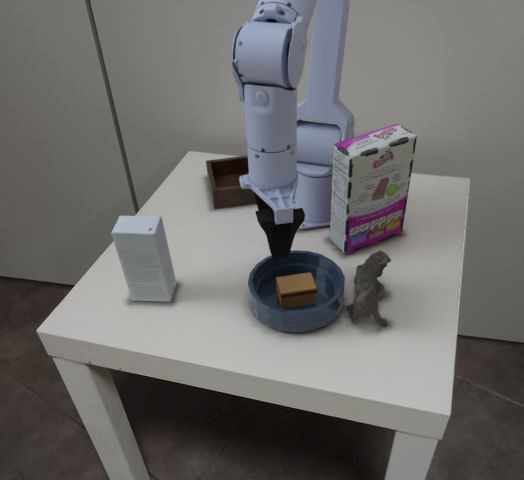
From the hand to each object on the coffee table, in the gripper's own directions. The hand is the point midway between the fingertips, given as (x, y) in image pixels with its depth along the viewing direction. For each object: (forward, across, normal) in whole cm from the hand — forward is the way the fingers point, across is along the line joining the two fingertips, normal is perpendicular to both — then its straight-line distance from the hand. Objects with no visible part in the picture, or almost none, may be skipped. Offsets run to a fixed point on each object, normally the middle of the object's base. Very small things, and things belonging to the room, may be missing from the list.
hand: (274, 239), depth 72 cm
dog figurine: (+10, +5, +12) cm, 16 cm away
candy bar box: (+10, -10, +16) cm, 22 cm away
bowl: (+10, +2, +2) cm, 10 cm away
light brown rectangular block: (+9, +2, +2) cm, 10 cm away
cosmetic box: (+10, -4, -18) cm, 20 cm away
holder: (+10, -29, -1) cm, 31 cm away
